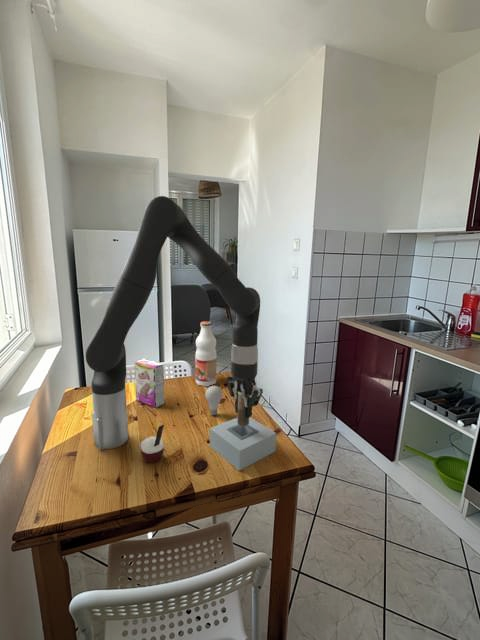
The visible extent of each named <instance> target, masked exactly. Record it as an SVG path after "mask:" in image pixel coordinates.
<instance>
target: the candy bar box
mask: <svg viewBox="0 0 480 640" xmlns="http://www.w3.org/2000/svg"><path fill="white" fill-rule="evenodd" d="M164 370H165V369H164V364H163V363H160V362H156V361H153V360H149V359H147V358H141V359H138V360H135V361H134V376H135V396H136V397H135V398H136V401H138V402H139V403H143V404H145V405H148V406H150V407H152V408H154V409H155V408H156V409H157V408H159V407H161V406H163V405H164V404H165V376H164V374H165V371H164Z"/></svg>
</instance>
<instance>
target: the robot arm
mask: <svg viewBox="0 0 480 640" xmlns="http://www.w3.org/2000/svg"><path fill="white" fill-rule="evenodd" d="M167 238H168V239H169V240H171V241H173V242H174V243H175V244H176V245H177V246H178V247H180V249H182V250H183V251H184V252H185V253H186V254H187V256H188V257H189V258H190V259H191V261H192V262H193V264H194V265H195V267H196V268H197V269H198V271H199V272H200V273H201V274H202V275H203V276H204V277H205V279H206V280H207V281H208V282H209V283H210V284H211V285H212V286H213V287H214V288H215V289H216V290H217V291H218V292H219V294H220V296H221V297H222V298H223V300H224V301H225V303H226V305H227V306H228V307H229V308H230V309H231V311H233V312H234V313H235V320H234V321H235V322H234V323H233V326H232V333H231V334H232V338H231V339H232V344H231V352H230V353H231V354H230V358H231V359H230V360H231V361H230V363H231V364H230V374H231V375H230V376H227V377H226V381H227V387H228V390H229V391H228V392H229V396H230V397H231V398H233V400H234V410H235V413H236V414H238V391H240V392H242V398H243V399H244V405H245V406H244V418H246V419H247V418H249V417H250V418H252V415H253V407H255V406H258V405H259V402H260V399H261V397H262V395H263V391H264V390H263V389H262V388H258V386H257V383H256V377H257V375H258V362H259V360H258V359H259V349H258V338H259V337H258V333H259V332H258V325H259V319H260V311H261V297H260V294H259V292H258V291H257V290H256V289H254V288H253V287H246V286H245V285H244V284H243V282H242V281H241V280H240V279H239V278H238V274H237V272H236V271H235V270H234V268H233V267H232V266H231V265H230V264H229V263H228V262H227V261H226V260H225V259H224V258H223V257H222V256H221V255H220V254H219V253H218V252H217V251H216V250H215V249H214V248H213V247H212V246H211V245H210V244H209V243H207V241H206V240H205V239H204V238H203V237H202V236H201V235H200V234H199V233H198V231H197V230H196V228H195V227H194V226H193V224H192V222H190V220H189V219H188V217H187V216H186V213H185V212H184V210H183V208H182V207H181V206H180V205H178V204H177V203H176V202H175V201H174V200H173V199H171V198H169V197H167V196H165V195H160V196H156V197H154V198H153V199H152V200H150V201H149V203H148V204H147V206H146V207H145V210H144V212H143V215H142V219H141V222H140V226H139V229H138V232H137V235H136V238H135V241H134V243H133V245H132V248H131V250H130V252H129V255H128V256H127V260H126V262H125V265H124V267H123V268H122V271H121V273H120V274H119V277H118V280H117V281H116V284H115V286H114V288H113V292H112V294H111V296H110V299H109V302H108V305H107V307H106V311H105V314H104V317H103V319H102V322H101V323H100V325H99V327H98V329H97V331H96V333H95V334H94V336H93V338H92V340H91V341H90V343H89V345H88V347H87V348H86V351H85V361H86V363H87V366H88V367H89V368H90V369H91V370H93V371H94V372H93V376H92V377H93V378H92V379H91V393H92V394H91V395H92V406H93V412H92V413H91V419H92V431H93V434H92V435H93V442H94V443H95V445H96V446H97V448H98V450H100V451H102V450H107V449H108V450H110V449H114V448H118V447H121V446H122V445H124V444H126V442H127V441H128V439H129V429H128V413H127V412H128V410H127V391H126V378H127V353H126V352H127V350H126V345H125V341H126V338H127V335H128V333H129V331H130V329H131V328H132V326H133V324H134V323H135V322H136V321H137V319H138V317H139V315H140V314H141V313H142V311H143V309H144V307H145V306H146V303H147V302H148V300H149V297H150V295H151V293H152V290H153V289H154V286H155V283H156V279H157V272H158V263H159V257H160V254H161V251H162V248H163V246H164V245H165V242H166V240H167ZM249 393H250V394H249ZM246 394H249V395H246ZM248 399H249V402H248Z"/></svg>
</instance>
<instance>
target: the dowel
mask: <svg viewBox="0 0 480 640" xmlns="http://www.w3.org/2000/svg"><path fill="white" fill-rule="evenodd" d="M249 394H250V393H249ZM249 394H246V395H249ZM248 402H249V399H248ZM244 406H245V405H244V399H243V398H242V392H240V391H238V413H237V417H238V420H237V423H238V424H239V425H241V426H246V425H248V424H249V418H247V419H246V418H244Z"/></svg>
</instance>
